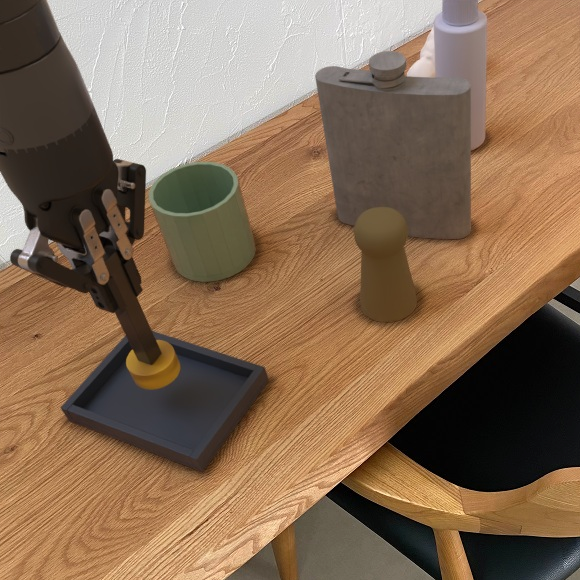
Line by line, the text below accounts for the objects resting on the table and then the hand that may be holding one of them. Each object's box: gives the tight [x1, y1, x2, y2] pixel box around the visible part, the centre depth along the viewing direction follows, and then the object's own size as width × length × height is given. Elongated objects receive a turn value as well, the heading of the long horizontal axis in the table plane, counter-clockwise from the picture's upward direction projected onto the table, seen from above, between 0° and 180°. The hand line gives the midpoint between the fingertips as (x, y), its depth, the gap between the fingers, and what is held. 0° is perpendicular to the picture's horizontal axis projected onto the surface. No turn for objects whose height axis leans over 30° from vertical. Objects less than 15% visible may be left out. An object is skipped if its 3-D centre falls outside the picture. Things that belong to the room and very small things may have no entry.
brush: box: [102, 248, 180, 390], centre depth 68 cm, size 4×4×14 cm
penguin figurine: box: [406, 25, 436, 78], centre depth 107 cm, size 6×8×12 cm
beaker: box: [148, 161, 257, 283], centre depth 87 cm, size 9×9×9 cm
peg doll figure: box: [353, 207, 418, 323], centre depth 79 cm, size 6×6×11 cm
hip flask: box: [314, 50, 472, 240], centre depth 84 cm, size 16×4×20 cm, turn 73°
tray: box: [59, 330, 270, 473], centre depth 76 cm, size 16×12×2 cm
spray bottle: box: [433, 0, 488, 151], centre depth 93 cm, size 6×6×22 cm
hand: (122, 300), depth 67 cm, fingers closed on brush, 1 cm apart
